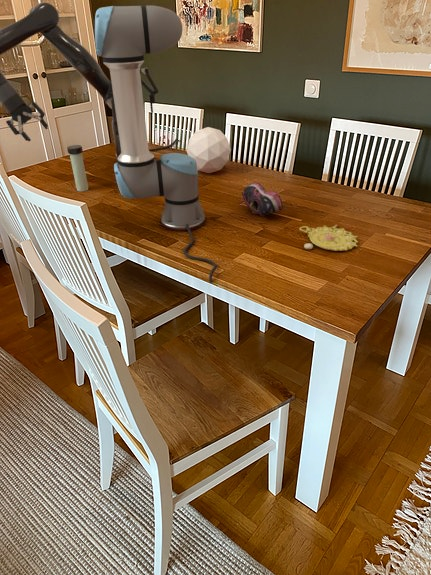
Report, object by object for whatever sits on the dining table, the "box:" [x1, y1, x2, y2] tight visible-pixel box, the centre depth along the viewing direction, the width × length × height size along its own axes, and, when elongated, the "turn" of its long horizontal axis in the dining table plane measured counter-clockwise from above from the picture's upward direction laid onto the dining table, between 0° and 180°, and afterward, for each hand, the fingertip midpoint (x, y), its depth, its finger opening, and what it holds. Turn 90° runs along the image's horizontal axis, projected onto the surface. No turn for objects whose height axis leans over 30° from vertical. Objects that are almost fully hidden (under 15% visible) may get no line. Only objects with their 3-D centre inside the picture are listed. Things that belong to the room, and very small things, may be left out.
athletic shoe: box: [238, 182, 284, 217], centre depth 160 cm, size 11×22×12 cm
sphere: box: [186, 126, 232, 174], centre depth 198 cm, size 19×20×20 cm
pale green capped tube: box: [69, 152, 89, 193], centre depth 182 cm, size 5×5×17 cm
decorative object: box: [299, 224, 359, 252], centre depth 141 cm, size 21×2×20 cm
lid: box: [66, 144, 83, 155], centre depth 178 cm, size 6×6×2 cm
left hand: (38, 134), depth 177 cm, fingers open, 8 cm apart
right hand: (135, 113), depth 181 cm, fingers open, 13 cm apart
